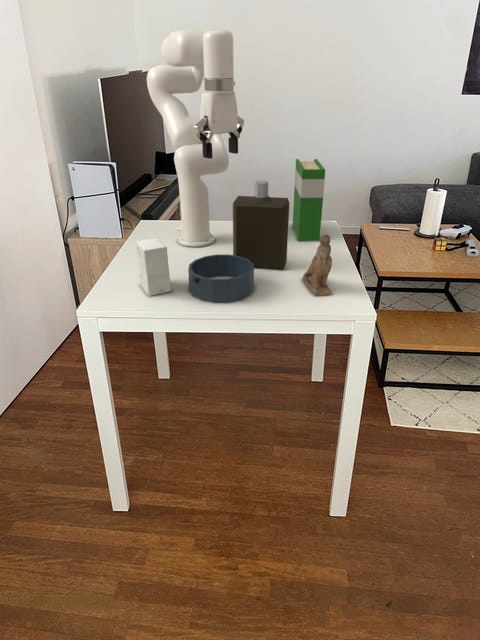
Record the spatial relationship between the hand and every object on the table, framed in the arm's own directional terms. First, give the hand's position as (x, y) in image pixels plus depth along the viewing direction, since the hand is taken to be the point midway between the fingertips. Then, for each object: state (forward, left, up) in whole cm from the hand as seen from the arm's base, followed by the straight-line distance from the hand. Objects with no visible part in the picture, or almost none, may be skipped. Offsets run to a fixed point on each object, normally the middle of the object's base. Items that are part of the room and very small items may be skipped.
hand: (220, 155), depth 131 cm
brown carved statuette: (+30, +7, -32) cm, 45 cm away
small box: (-1, -25, -32) cm, 41 cm away
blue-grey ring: (+12, -12, -32) cm, 36 cm away
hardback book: (0, +41, -32) cm, 52 cm away
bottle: (+8, +8, -32) cm, 34 cm away
